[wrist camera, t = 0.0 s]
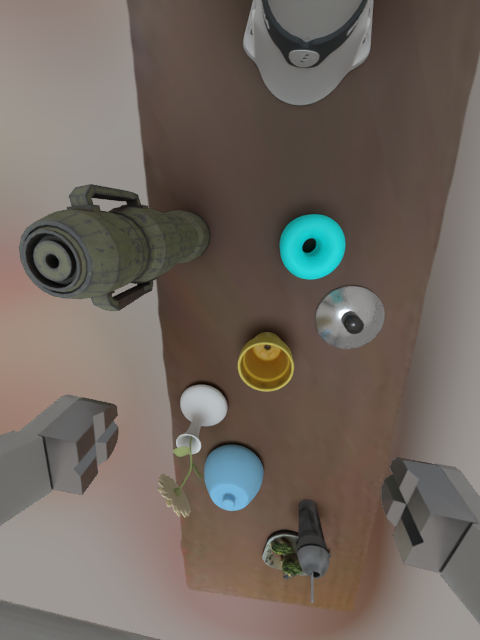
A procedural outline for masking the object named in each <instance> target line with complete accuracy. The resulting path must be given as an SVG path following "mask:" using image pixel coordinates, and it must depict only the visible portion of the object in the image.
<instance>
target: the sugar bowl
mask: <svg viewBox="0 0 480 640" xmlns="http://www.w3.org/2000/svg"><path fill="white" fill-rule="evenodd" d="M263 473H264V471H263V466H262V463H261V461H260V459H259V458H258V457H257V456H256V455H255V454H254V453H253V452H252V451H251V450H249V449H248V448H246V447H243V446H240V445H235V444H230V445H224V446H221V447H219V448H217V449H215V450H213V451H212V452H211V453H210V454H209V456H208V457H207V459H206V463H205V469H204V477H205V483H206V487H207V489H208V492H209V495H210V497H211V499H212V501H213V502H214V503H215V504H216V505H217V506H219V507H220V508H222V509H225V510H230V511H235V510H240V509H242V508H244V507H245V506H247V505H248V504H249V503H250V502H251V500H252V499H253V498H254V497H255V496H256V494H257V493H258V491H259V489H260V487H261V484H262V480H263Z"/></svg>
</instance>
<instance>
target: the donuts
mask: <svg viewBox="0 0 480 640" xmlns="http://www.w3.org/2000/svg"><path fill="white" fill-rule="evenodd" d="M310 238H314V239H315V241H316V247H315V249H314V250H313V251H312V252H309V253H305V252H303V250H302V246H303V244H304V242H305V241H306V240H307V239H310ZM344 252H345V237H344V234H343V231H342V229H341V228H340V226H339V225H338V224H337V223H336V222H335V221H334V220H333V219H331V218H329V217H327V216H325V215H320V214H310V215H303V216H300V217H298V218H296V219H294V220H293V221H291V222H290V223H289V224H288V225H287V226H286V228H285V229H284V231H283V233H282V235H281V238H280V254H281V258H282V261H283V263H284V265H285V267H286V268H287V269H288V270H289V271H290V272H291V273H292V274H293V275H295V276H297V277H299V278H303V279H318V278H321V277H324V276H326V275H328V274H329V273H331V272H332V271H333V270H334V269H335V268H336V267H337V266H338V265H339V263H340V262H341V260H342V258H343V255H344Z"/></svg>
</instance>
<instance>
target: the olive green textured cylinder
mask: <svg viewBox="0 0 480 640" xmlns="http://www.w3.org/2000/svg"><path fill="white" fill-rule="evenodd" d="M69 198H70V202H71V205H72V207H67V210H62V211H58V212H54V213H52V214H49V215H48V216H45V217H44V218H42V219H40V220H38V221H36V222H34V223H33V224H32V225H30V226H29V227H27V228H26V230H25V231H24V233H23V235H22V236H21V240H20V246H19V251H20V259H21V262H22V265H23V267H24V270H25V272H26V274H27V275H28V276H29V278H30V279H31V280H32V282H33V283H34V284H35V285H36V286H38V287H39V288H40V289H41V290H42V291H44V292H46V293H48V294H50V295H52V296H55V297H60V298H71V299H84V298H91V299H92V302H93V304H94V305H96V306H98V307H100V308H102V309H105V310H109V311H119V310H121V309H122V308H124V307H125V306H127V305H129V304H130V303H132V302H133V301H135V300H136V299H138V298H139V297H141V296H142V295H144V294H146V293H148V292H150V291H152V287H153V280H155V279H157V278H156V277H157V276H160V275H162V274H163V273H165V272H167V271H169V270H170V269H171V268H172V267H173V266H174V265H175V264H178V263H186V262H190V261H192V260H194V259H195V258H197V257H199V256H200V255H201V254H203V253H204V252H205V250H206V249H207V247H208V245H209V242H210V232H209V228H208V226H207V224H206V222H205V221H204V220H203V219H202V218H201V217H200V216H198V215H197V214H195V213H191V212H188V211H182V210H174V211H169V212H167V213H161V212H159V211H157V210H155V209H149V208H148V206H145V205H141V204H140V200H139V197H138V195H137V194H135V193H133V192H129V191H124V190H119V189H114V188H108V187H102V186H97V185H92V184H91V185H85V186H80V187H76V188H75V189H74V190H73V191H72V193H71V194H70V195H69ZM91 198H98V199H107V200H116V201H126V202H127V205H122V206H121V207H118V208H113V209H112V210H110V211H109V212H106V211H100V207H99V206H98V205H93V202H92V199H91ZM128 283H135V284H136V283H138V284H137V286H135V287H133V288H131V289H128V290H126V291H125V292H122V293H120V294H118V295H116V296H114V297H112V293H114V290H116V289H118V288H121V287H123V286H125V285H127V284H128Z"/></svg>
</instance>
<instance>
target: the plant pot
mask: <svg viewBox="0 0 480 640" xmlns="http://www.w3.org/2000/svg"><path fill="white" fill-rule="evenodd" d="M265 345H270V346H271V347H270V348H269V349H266V348H265ZM238 372H239V375H240V377H241V378H242V380H243V381H244V382H245V383H246V384H247V385H248V386H250V387H251V388H253V389H256V390H259V391H274V390H277V389H280V388H282V387H283V386H285V385H286V384H287V383H288V382H289V381H290V379H291V378H292V376H293V372H294V361H293V356H292V353H291V351H290V349H289V347H288V346H287V345H286V344H285V343H284V342H283V341H281V339H280V338H279V337H278V336H277V335H276V334H274V333H271V332H263V333H260V334H258V335H257V336H256V337H255V338H254V339H252V340H250V341H249V342H247V343H246V344H245V345H244V347H243V348H242V350H241V353H240V356H239V359H238Z"/></svg>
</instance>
